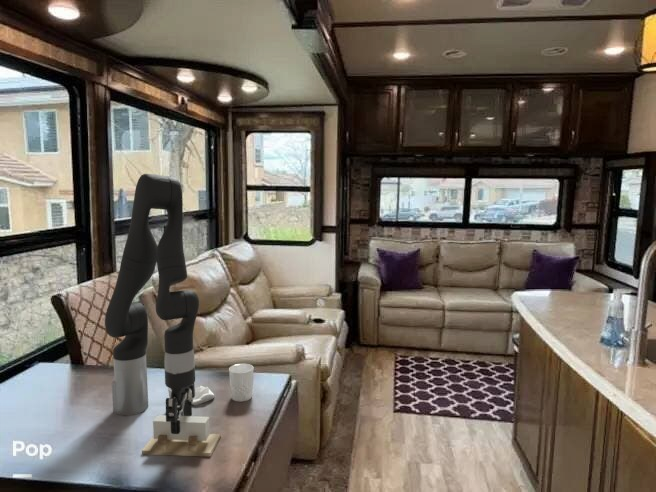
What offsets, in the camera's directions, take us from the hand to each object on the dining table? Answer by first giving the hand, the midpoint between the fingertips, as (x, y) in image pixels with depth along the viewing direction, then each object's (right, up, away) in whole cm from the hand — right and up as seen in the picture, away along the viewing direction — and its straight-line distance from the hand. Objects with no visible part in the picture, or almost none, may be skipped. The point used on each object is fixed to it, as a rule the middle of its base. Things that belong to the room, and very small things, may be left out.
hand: (181, 424), depth 120 cm
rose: (-3, -3, +28) cm, 28 cm away
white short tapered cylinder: (-7, -3, +22) cm, 23 cm away
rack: (0, -6, +1) cm, 6 cm away
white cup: (+10, -3, +29) cm, 31 cm away
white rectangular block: (0, -3, 0) cm, 3 cm away
